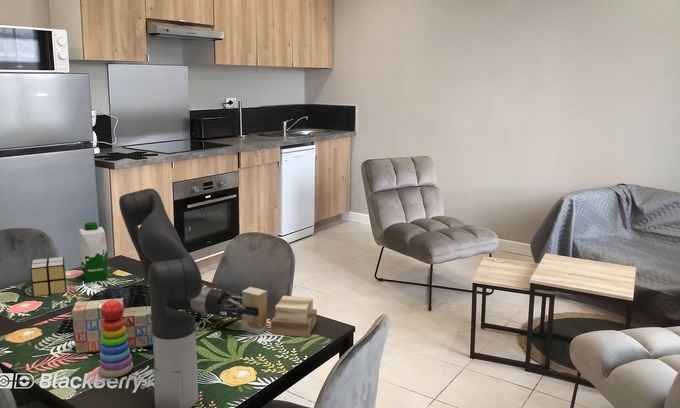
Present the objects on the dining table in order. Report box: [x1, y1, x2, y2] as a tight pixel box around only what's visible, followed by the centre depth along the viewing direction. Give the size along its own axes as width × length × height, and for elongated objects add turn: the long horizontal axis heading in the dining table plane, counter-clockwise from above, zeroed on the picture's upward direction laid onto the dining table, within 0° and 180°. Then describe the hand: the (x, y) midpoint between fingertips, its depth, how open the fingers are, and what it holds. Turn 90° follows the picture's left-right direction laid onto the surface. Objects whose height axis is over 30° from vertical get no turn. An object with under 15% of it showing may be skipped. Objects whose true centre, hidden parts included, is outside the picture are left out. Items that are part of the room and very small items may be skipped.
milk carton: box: [78, 221, 109, 283], centre depth 207 cm, size 9×9×20 cm
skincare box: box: [241, 286, 268, 335], centre depth 167 cm, size 6×4×12 cm
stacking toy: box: [98, 300, 134, 378], centre depth 142 cm, size 8×8×19 cm
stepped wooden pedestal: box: [270, 295, 318, 338], centre depth 170 cm, size 11×11×8 cm
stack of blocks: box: [71, 297, 153, 354], centre depth 157 cm, size 21×6×12 cm, turn 105°
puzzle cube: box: [29, 256, 67, 298], centre depth 196 cm, size 10×10×10 cm
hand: (262, 308), depth 166 cm, fingers closed on skincare box, 5 cm apart
